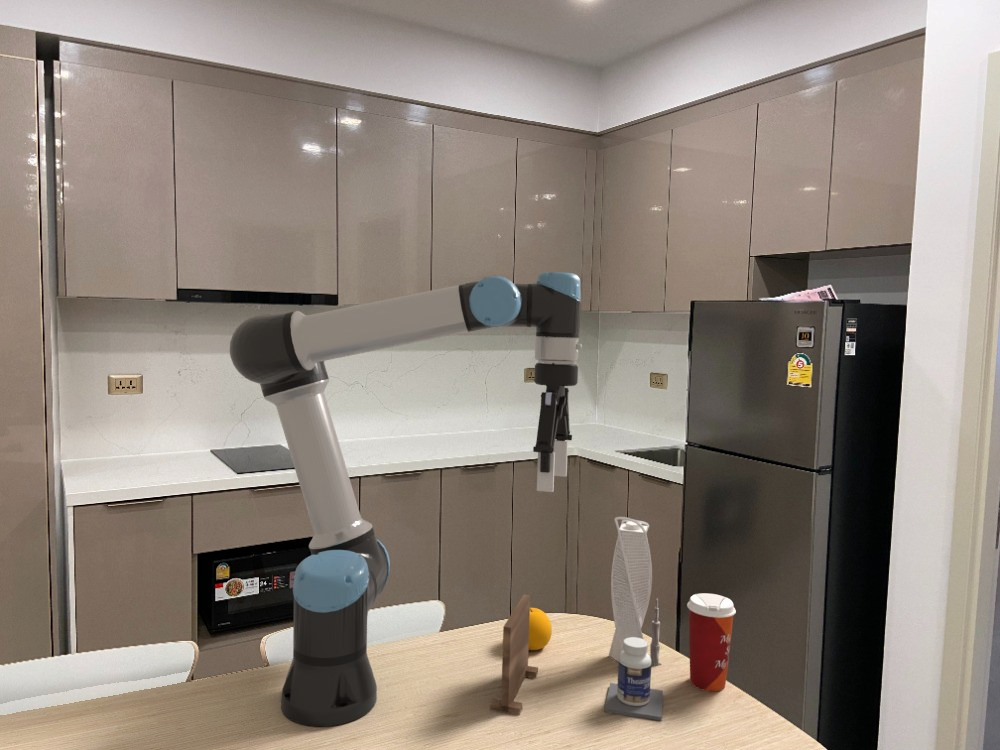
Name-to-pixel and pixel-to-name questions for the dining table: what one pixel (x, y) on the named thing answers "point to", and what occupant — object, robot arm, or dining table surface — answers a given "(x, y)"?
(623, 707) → the coaster
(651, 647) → the skyscraper
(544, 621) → the orange
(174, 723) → the dining table surface
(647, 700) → the pill bottle
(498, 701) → the screen
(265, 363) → the robot arm
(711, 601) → the coffee cup
